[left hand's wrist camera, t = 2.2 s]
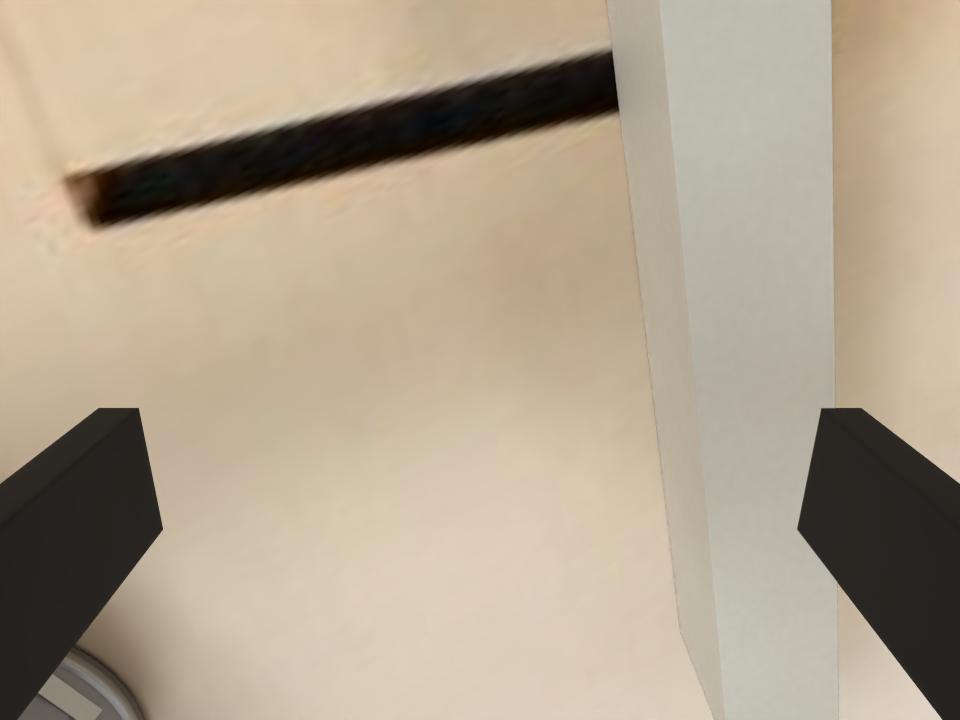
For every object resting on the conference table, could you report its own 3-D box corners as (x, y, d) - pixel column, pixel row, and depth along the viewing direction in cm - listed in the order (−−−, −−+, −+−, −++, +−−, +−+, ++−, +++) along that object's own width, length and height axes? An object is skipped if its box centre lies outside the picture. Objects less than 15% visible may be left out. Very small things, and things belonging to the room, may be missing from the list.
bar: (768, 619, 37) (839, 742, 30) (680, 633, 37) (728, 757, 30) (674, -1062, 17) (813, -1898, 10) (489, -1001, 18) (496, -1769, 10)
